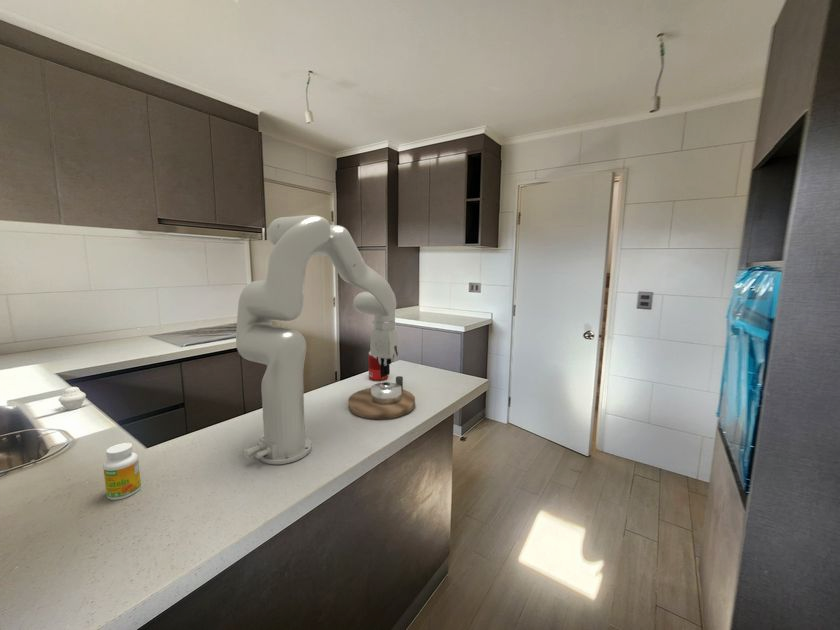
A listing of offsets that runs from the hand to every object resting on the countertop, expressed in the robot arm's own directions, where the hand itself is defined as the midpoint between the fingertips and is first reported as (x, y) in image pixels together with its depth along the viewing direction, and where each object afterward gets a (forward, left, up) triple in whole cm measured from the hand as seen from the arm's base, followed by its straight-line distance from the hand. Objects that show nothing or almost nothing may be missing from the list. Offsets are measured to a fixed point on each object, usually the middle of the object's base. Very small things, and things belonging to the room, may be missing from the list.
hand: (385, 374), depth 128 cm
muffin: (-71, +69, -7) cm, 99 cm away
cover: (-9, -8, -4) cm, 13 cm away
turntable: (-10, -7, -7) cm, 14 cm away
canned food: (+10, +13, -7) cm, 18 cm away
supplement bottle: (-75, +5, -7) cm, 75 cm away
